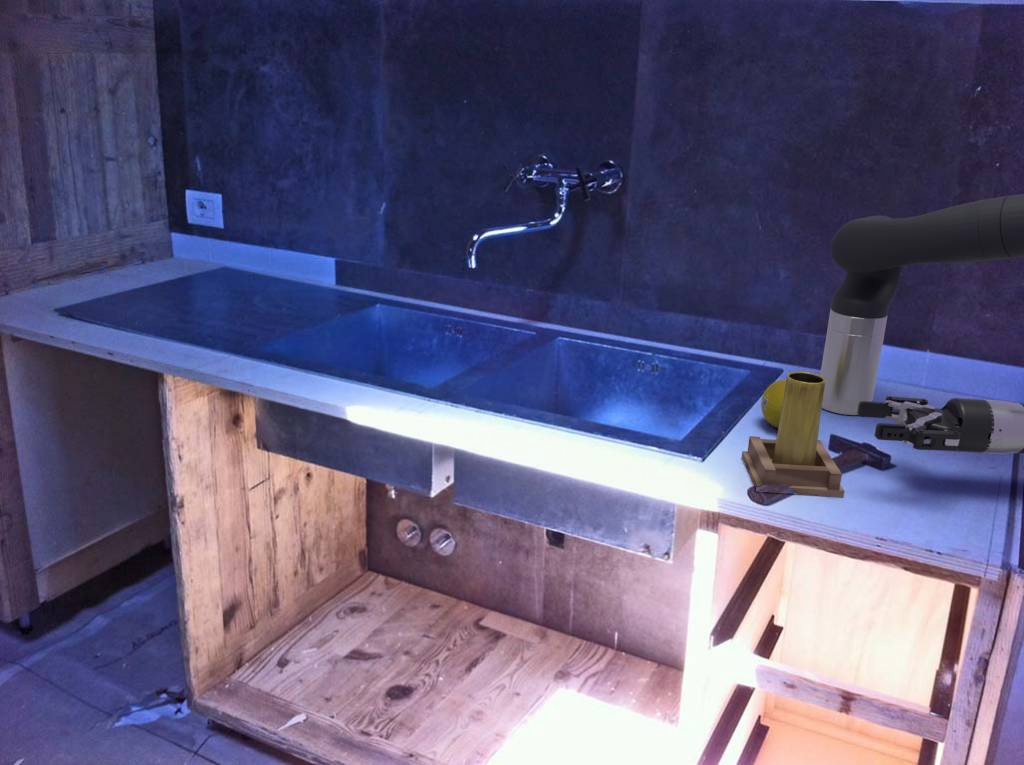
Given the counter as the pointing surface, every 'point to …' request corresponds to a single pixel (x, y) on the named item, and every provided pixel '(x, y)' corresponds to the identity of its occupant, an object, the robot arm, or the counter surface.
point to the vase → (799, 419)
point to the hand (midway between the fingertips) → (867, 419)
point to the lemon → (773, 402)
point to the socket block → (793, 470)
